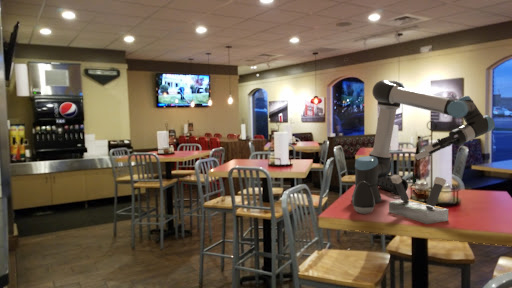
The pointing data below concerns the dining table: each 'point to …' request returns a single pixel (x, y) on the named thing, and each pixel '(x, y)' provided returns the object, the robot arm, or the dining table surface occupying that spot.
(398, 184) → the lever
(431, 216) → the switch panel
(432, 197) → the lever
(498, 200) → the dining table surface
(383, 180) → the muzzle brake
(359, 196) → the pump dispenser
